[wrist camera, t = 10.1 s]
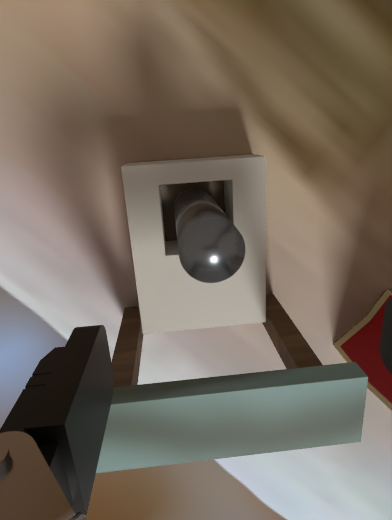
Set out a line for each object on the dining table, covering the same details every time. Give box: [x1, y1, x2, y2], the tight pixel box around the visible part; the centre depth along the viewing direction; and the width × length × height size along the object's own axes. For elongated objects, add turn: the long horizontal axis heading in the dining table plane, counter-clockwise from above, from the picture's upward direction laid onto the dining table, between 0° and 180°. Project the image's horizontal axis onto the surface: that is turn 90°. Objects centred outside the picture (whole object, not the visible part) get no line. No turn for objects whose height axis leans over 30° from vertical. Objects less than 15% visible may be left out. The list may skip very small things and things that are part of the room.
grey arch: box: [96, 294, 368, 473], centre depth 24 cm, size 4×14×15 cm, turn 94°
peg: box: [174, 188, 245, 283], centre depth 23 cm, size 3×3×12 cm
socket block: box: [121, 154, 266, 334], centre depth 28 cm, size 13×10×4 cm
